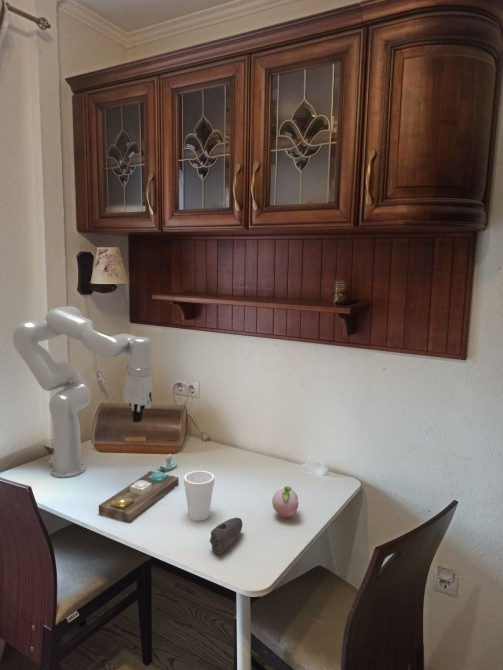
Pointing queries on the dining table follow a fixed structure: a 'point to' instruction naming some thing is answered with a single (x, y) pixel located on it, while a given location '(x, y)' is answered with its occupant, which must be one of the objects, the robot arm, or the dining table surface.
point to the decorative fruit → (285, 502)
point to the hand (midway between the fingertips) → (137, 421)
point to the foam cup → (199, 494)
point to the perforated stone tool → (225, 534)
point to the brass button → (122, 502)
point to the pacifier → (168, 463)
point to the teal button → (158, 477)
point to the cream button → (141, 487)
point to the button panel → (138, 499)
